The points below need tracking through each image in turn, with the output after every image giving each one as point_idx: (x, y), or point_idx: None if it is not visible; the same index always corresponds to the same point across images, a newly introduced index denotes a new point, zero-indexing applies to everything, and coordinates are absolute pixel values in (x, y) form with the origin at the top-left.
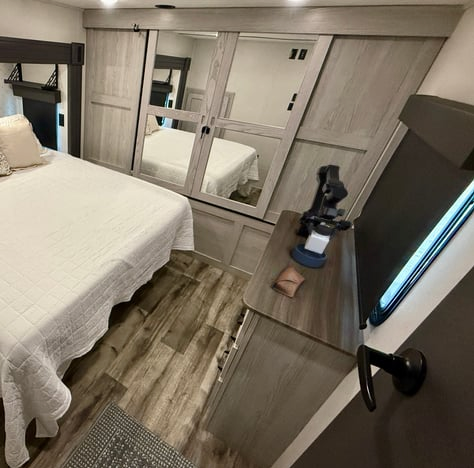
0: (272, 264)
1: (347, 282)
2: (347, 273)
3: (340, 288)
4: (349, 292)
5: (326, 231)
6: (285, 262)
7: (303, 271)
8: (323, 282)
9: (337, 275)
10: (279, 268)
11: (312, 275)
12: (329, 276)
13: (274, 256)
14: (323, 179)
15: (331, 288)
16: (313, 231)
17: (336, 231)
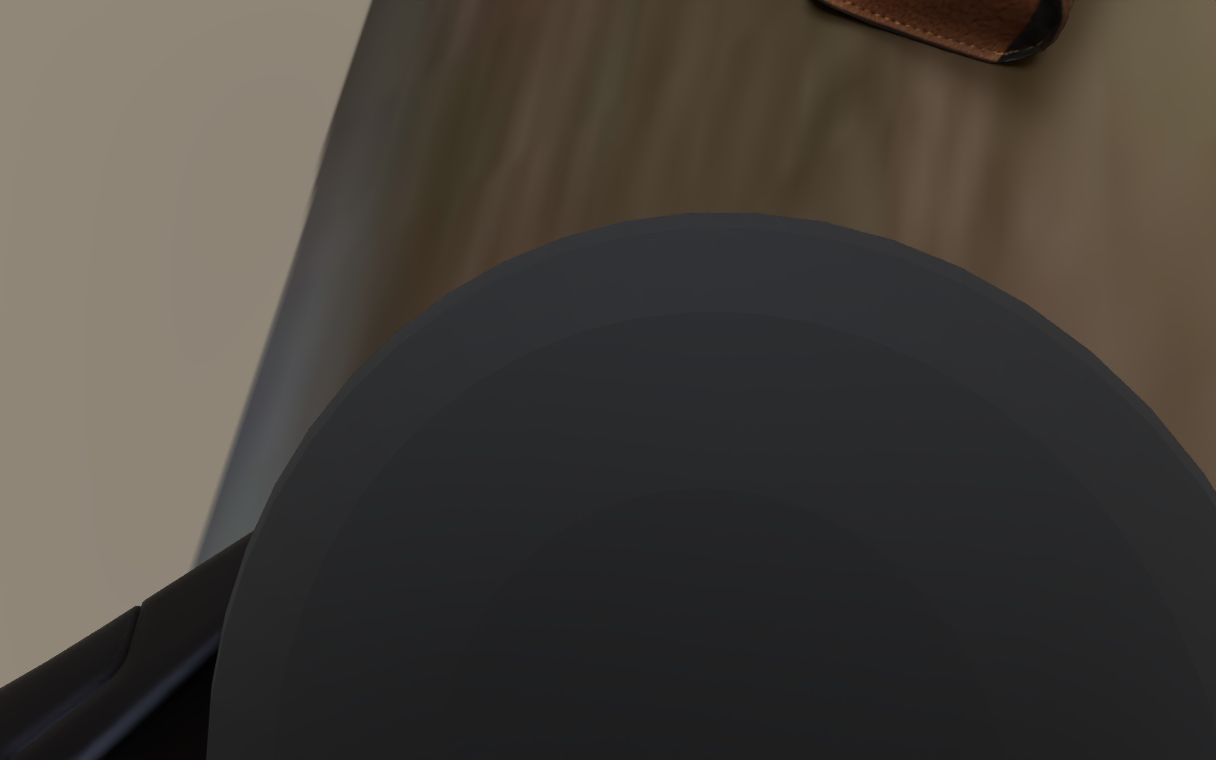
0: (1210, 126)
1: (326, 217)
2: (259, 427)
3: (438, 57)
4: (369, 35)
5: (658, 233)
6: (1026, 279)
7: (794, 179)
8: (593, 70)
9: (394, 312)
10: (1107, 80)
11: (694, 148)
12: (495, 237)
13: (1198, 369)
14: None
15: (533, 4)
16: None
17: (29, 707)
